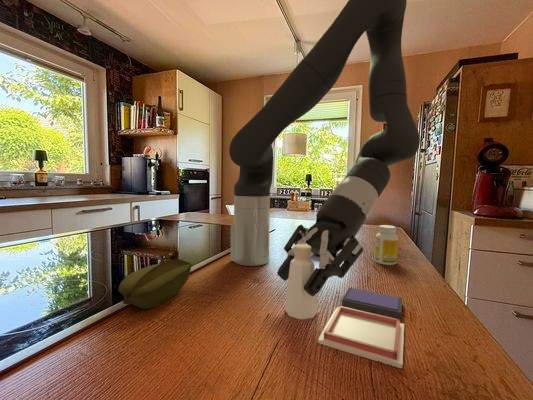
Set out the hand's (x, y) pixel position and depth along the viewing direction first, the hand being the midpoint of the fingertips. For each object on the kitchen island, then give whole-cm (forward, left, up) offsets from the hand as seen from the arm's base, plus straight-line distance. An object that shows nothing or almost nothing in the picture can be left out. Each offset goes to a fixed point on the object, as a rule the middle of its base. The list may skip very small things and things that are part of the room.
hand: (293, 284), depth 43 cm
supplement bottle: (+11, +37, -5) cm, 39 cm away
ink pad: (+11, +9, -5) cm, 15 cm away
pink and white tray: (+11, -1, -5) cm, 12 cm away
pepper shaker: (+1, +1, -5) cm, 5 cm away
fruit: (-23, -7, -5) cm, 24 cm away
